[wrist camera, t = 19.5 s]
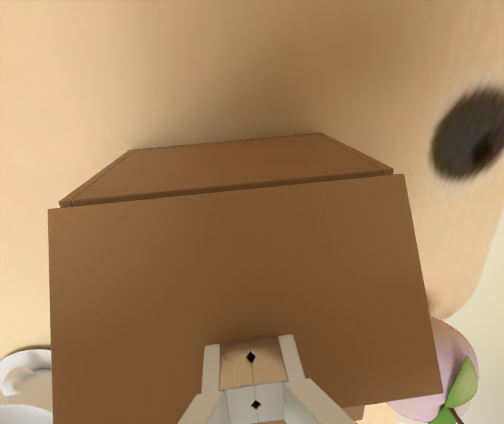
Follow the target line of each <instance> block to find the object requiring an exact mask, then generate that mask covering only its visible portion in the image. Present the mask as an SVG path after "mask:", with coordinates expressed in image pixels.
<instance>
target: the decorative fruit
mask: <svg viewBox="0 0 504 424" xmlns="http://www.w3.org/2000/svg"><path fill="white" fill-rule="evenodd" d="M430 320H431V325H432V331H433V336H434V342H435V347H436V353H437V358H438V364H439V369H440V375H441V380H442V386H443V391H444V393H443V394H437V395H430V396H423V397H417V398H410V399H403V400H397V401H390V402H387V404H388V405H389V406H390V407H391V408H393V409H394V410H395V411H396V412H398V413H399V414H401V415H403V416H405V417H407V418H409V419H412V420H415V421H419V422H425V423H429V424H456V422H457V423H458V424H464V423H463V422H462V421H461V420H460V417H461V416H462V415H463V414H464V413H465V412H466V410H467V409H468V407H469V404H470V400H471V399H472V397H473V396H474V395H475V393H476V391H477V387H478V380H479V369H478V363H477V359H476V355H475V352H474V350H473V348H472V346H471V345H470V343H469V342H468V341H467V339H466V338H465V337H464V336H463V335H462V334H461V333H460V332H459V331H457V330H456V329H454V328H453V327H451V326H450V325H448V324H447V323H445V322H443V321H441V320H438V319H436V318H433V317H430Z"/></svg>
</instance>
